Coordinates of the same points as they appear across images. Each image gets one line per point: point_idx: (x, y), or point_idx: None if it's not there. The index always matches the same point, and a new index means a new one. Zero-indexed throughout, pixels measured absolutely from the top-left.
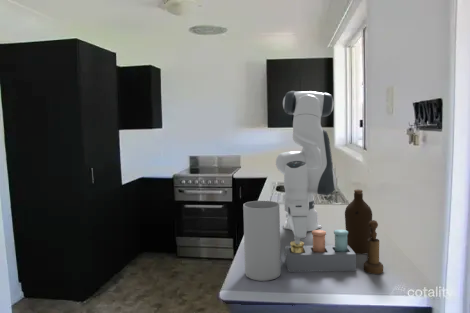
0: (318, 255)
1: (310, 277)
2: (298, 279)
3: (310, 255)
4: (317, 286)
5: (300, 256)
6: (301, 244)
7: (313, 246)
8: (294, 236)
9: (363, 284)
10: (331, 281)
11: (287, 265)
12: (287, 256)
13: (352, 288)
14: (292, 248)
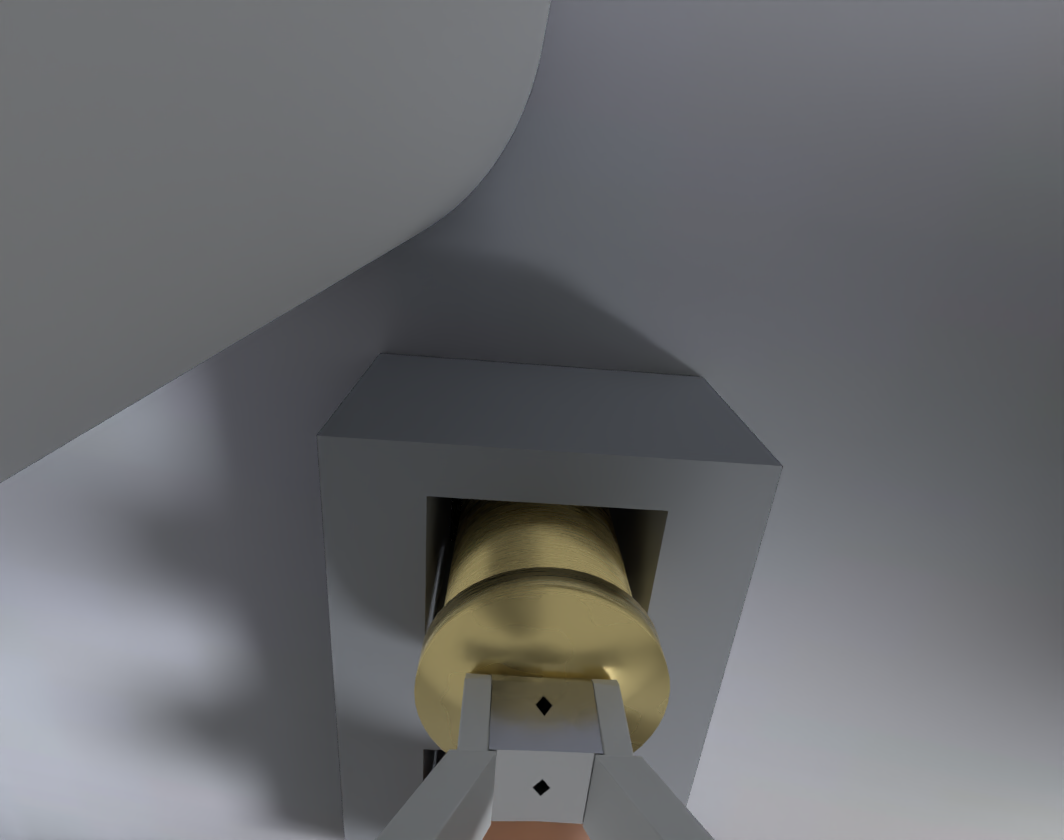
0: (344, 775)
1: (234, 538)
2: (170, 423)
3: (339, 705)
4: (31, 552)
5: (332, 592)
6: (447, 741)
7: (495, 824)
8: (608, 777)
9: (140, 828)
10: (163, 670)
11: (419, 374)
12: (366, 423)
13: (53, 760)
14: (491, 563)
